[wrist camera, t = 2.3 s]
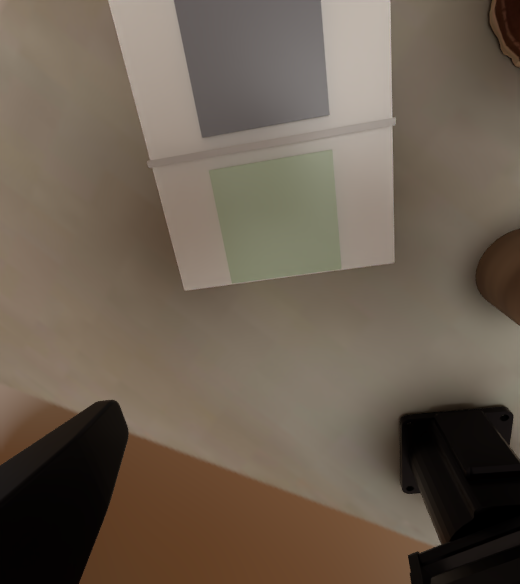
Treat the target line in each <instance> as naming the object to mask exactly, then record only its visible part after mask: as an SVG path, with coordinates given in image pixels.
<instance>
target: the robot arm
mask: <svg viewBox="0 0 520 584" xmlns="http://www.w3.org/2000/svg"><path fill="white" fill-rule="evenodd" d="M502 415H503V416H502ZM407 423H410V424H407ZM512 424H513V414H512V413H511V412H510V410H509V409H508V408H506V407H493V408H481V409H470V410H458V411H447V412H436V413H424V414H413V415H405V416H403V417H402V418H401V419H400V484H401V487H402V490H403V492H404V493H407V494H414V493H421V495H422V498H423V500H424V503H425V505H426V508H427V510H428V513H429V515H430V518H431V520H432V523H433V525H434V528H435V530H436V533H437V535H438V538H439V540H440V543H441V545H439V546H437V547H434V548H431V549H429V550H426V551H424V552H421V553H419V552H415V553H412V554H410V555H408V558H409V564H410V569H411V573H410V577H411V584H520V459H519V458H518V457H517V456H516V454H515V453H514V452H513V450H512V449H511V448H510V446H509V445H510V438H511V431H512ZM127 441H128V427H127V424H126V421H125V419H124V416H123V413H122V411H121V408H120V405H119V403H118V402H117V401H115V400H105V401H98V402H96V403H94V404H92V405H91V406H89V407H88V408H86V409H85V410H83V411H82V412H80V413H79V414H77V415H76V416H74V417H73V418H71V419H70V420H68V421H67V422H65V423H64V424H62V425H61V426H59V427H58V428H56V429H55V430H53V431H52V432H50V433H49V434H47V435H46V436H44V437H43V438H41V439H40V440H38V441H37V442H35V443H34V444H32V445H31V446H29V447H28V448H26V449H24V450H23V451H21V452H20V453H18V454H17V455H15V456H14V457H13V458H11V459H9V460H8V461H7V462H5V463H3V464H2V465H0V584H79V582H80V579H81V577H82V574H83V571H84V569H85V566H86V564H87V561H88V559H89V556H90V554H91V551H92V548H93V546H94V543H95V541H96V538H97V536H98V533H99V530H100V528H101V525H102V523H103V520H104V517H105V515H106V512H107V509H108V506H109V503H110V500H111V497H112V494H113V490H114V487H115V483H116V479H117V476H118V472H119V469H120V465H121V462H122V458H123V455H124V451H125V448H126V444H127Z"/></svg>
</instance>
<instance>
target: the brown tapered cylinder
mask: <svg viewBox="0 0 520 584" xmlns="http://www.w3.org/2000/svg"><path fill="white" fill-rule="evenodd" d="M476 284H477V288H478V290H479V292H480V294H481V295H482V296H483V297H484V298H485V299H486V300H487V301H488V302H489V303H491V304H492V305H493V306H495V307H496V308H497V309H499V310H500V311H501V312H502V313H504V314H505V315H506V316H508V317H509V318H510V319H512V320H513V321H514V322H516V323H517V324H518V325H520V229H517V230H514V231H511V232H509V233H507V234H505V235H503V236H502V237H500V238H499V239H497V240H496V241H495V242H494V243H493V244H491V246H490V247H489V248H488V249H487V250H486V251H485V253H484V254H483V256H482V257H481V259H480V261H479V264H478V267H477V270H476Z"/></svg>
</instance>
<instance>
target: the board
mask: <svg viewBox="0 0 520 584" xmlns="http://www.w3.org/2000/svg"><path fill="white" fill-rule="evenodd" d="M108 1H109V5H110V9H111V13H112V17H113V21H114V24H115V28H116V32H117V36H118V40H119V43H120V47H121V51H122V55H123V59H124V62H125V66H126V70H127V74H128V78H129V81H130V85H131V89H132V93H133V97H134V101H135V104H136V108H137V112H138V116H139V120H140V123H141V127H142V131H143V135H144V139H145V142H146V146H147V150H148V154H149V158H150V161H147V165H148V168H152V169H153V173H154V177H155V181H156V184H157V188H158V192H159V196H160V200H161V203H162V207H163V211H164V215H165V219H166V222H167V226H168V230H169V234H170V238H171V242H172V245H173V249H174V253H175V257H176V261H177V264H178V268H179V272H180V276H181V280H182V283H183V287H184V291H187V290H195V289H202V288H210V287H217V286H225V285H232V284H240V283H247V282H255V281H262V280H270V279H278V278H285V277H293V276H300V275H308V274H315V273H323V272H330V271H338V270H345V269H353V268H360V267H368V266H375V265H383V264H390V263H395V251H394V191H393V131H392V126H393V125H396V117H394V118H392V71H391V11H390V0H108Z"/></svg>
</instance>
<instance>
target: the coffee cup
mask: <svg viewBox="0 0 520 584" xmlns="http://www.w3.org/2000/svg"><path fill="white" fill-rule="evenodd" d="M489 18H490V25H491V27H492V29H493V31H494V33H495V35H496V36H497V37H498V39H499V43H500V45H501V47H500V49H501V50H502V52H503V54H504V55H507V56H508V57H510V58H512V62H513V63H514V65H515V66H516V67H519V68H520V0H492V3H491V10H490V13H489Z"/></svg>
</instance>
